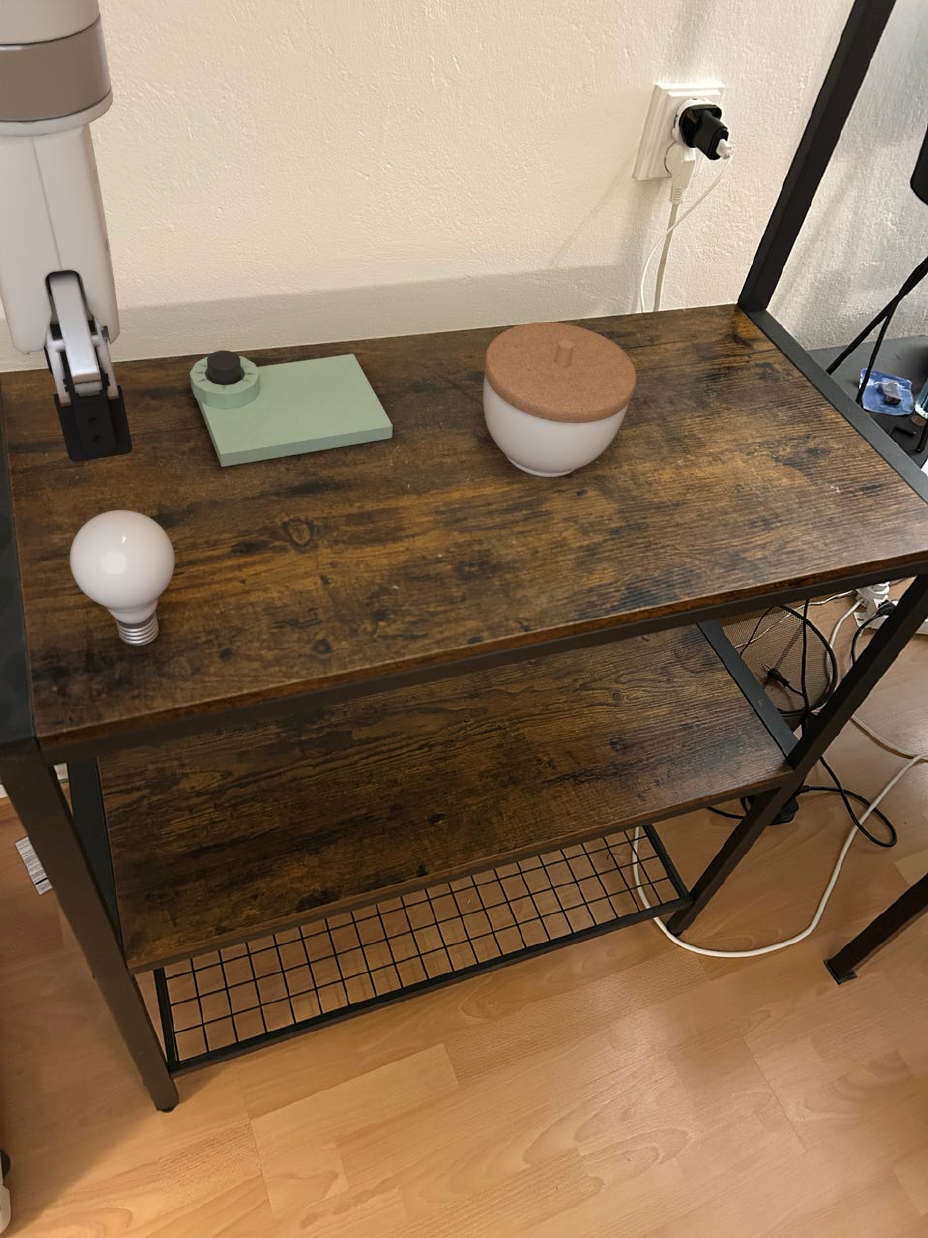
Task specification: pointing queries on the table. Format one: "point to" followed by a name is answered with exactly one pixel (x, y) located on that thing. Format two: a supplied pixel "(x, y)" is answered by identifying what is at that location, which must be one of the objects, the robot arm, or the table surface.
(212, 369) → the tare button
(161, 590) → the lightbulb
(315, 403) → the green dial base
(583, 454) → the lidded bowl
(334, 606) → the table surface
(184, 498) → the table surface
